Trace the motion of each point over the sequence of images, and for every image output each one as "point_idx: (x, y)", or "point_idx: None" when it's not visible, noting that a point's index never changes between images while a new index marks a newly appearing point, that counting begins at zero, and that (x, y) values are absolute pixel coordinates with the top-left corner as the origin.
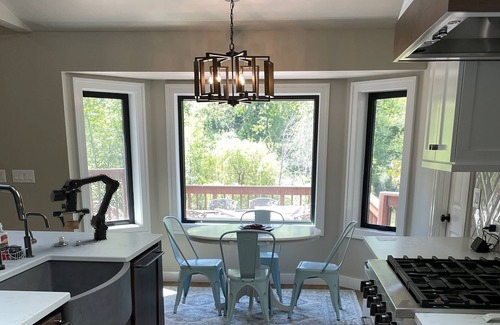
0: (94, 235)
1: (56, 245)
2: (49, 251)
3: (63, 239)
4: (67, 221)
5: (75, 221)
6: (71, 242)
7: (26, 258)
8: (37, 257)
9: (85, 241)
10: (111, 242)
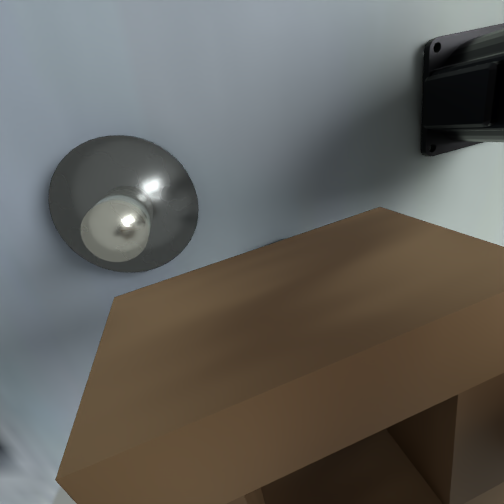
0: (460, 124)
1: (97, 265)
2: (81, 359)
3: (150, 225)
4: (260, 482)
5: (466, 477)
6: (215, 102)
7: None
8: (46, 468)
9: (343, 117)
10: (494, 227)
